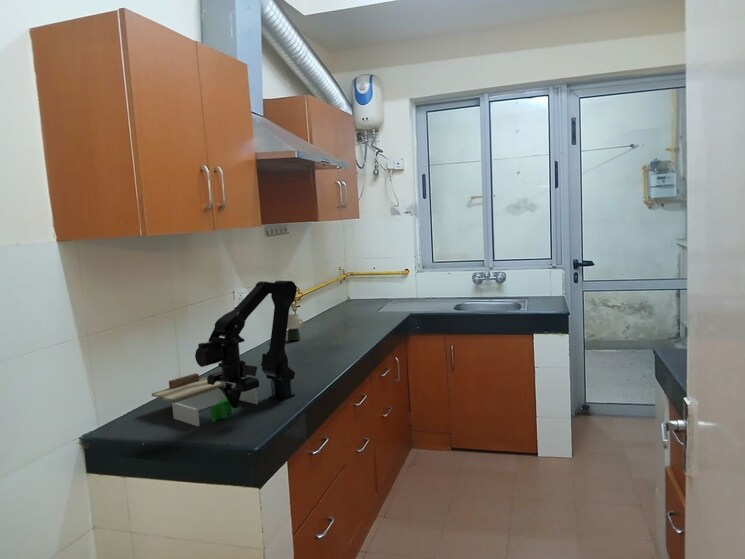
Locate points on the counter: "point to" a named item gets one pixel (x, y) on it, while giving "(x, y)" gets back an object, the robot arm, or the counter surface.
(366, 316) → the counter surface
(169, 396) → the lid
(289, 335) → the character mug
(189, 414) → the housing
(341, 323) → the counter surface
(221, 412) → the pipe clamp
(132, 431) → the counter surface
